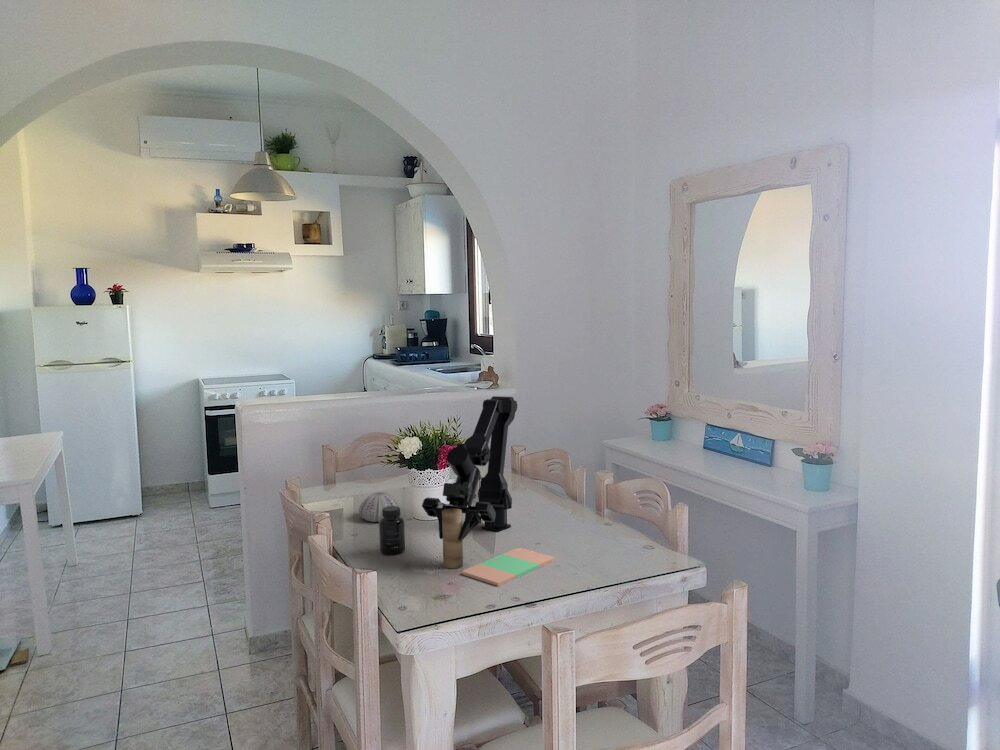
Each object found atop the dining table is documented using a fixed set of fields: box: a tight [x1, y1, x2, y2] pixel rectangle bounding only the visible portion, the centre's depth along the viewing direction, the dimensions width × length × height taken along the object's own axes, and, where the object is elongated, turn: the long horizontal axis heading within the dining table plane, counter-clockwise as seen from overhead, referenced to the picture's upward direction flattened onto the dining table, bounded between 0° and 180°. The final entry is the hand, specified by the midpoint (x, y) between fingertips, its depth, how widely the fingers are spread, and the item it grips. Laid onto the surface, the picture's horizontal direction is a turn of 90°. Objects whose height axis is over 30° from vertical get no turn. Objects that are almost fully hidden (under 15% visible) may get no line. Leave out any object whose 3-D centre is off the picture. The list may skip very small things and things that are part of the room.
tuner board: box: [461, 547, 556, 587], centre depth 183 cm, size 22×12×1 cm, turn 139°
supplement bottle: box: [378, 506, 406, 557], centre depth 195 cm, size 7×7×12 cm
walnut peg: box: [442, 508, 464, 569], centre depth 184 cm, size 5×5×14 cm
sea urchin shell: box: [358, 491, 402, 523], centre depth 227 cm, size 13×14×8 cm
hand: (450, 539), depth 183 cm, fingers closed on walnut peg, 5 cm apart
